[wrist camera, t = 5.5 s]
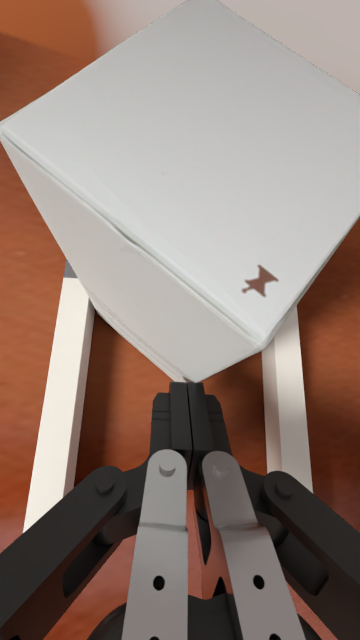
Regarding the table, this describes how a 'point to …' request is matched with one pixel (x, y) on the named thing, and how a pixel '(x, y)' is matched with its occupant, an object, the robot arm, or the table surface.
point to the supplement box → (194, 183)
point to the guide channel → (69, 391)
